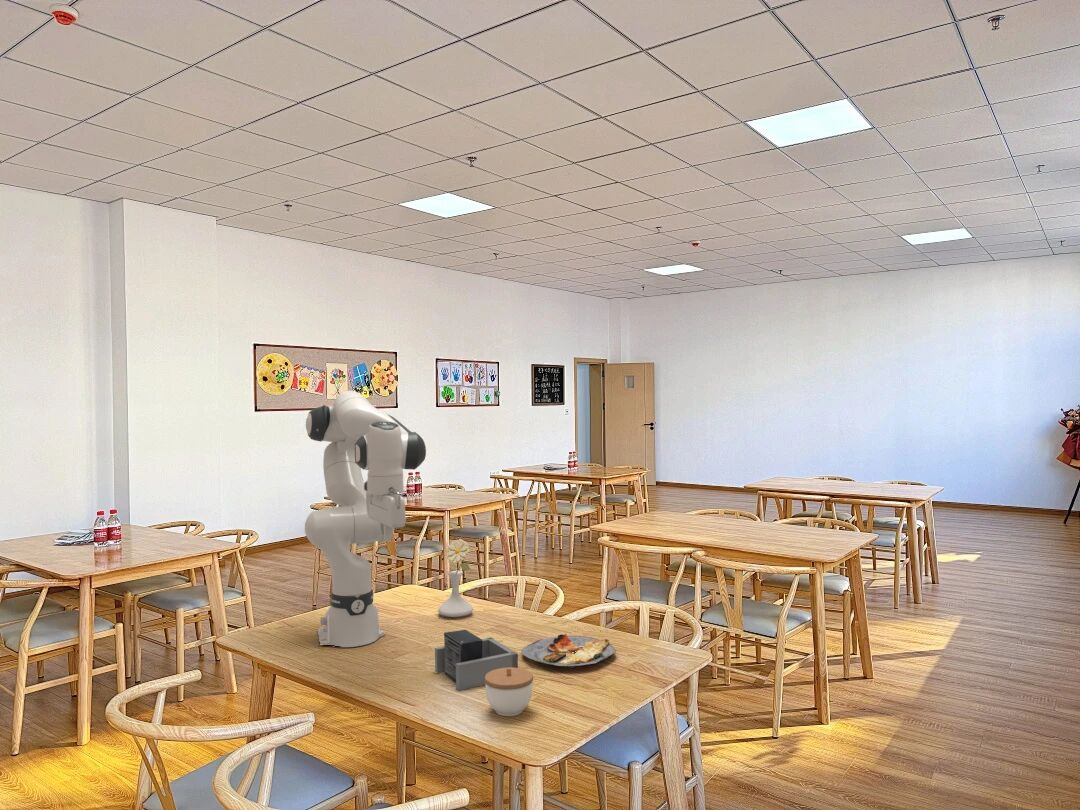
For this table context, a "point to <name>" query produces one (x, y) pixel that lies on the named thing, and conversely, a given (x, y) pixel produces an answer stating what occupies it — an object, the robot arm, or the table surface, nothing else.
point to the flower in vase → (456, 582)
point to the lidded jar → (509, 690)
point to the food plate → (569, 650)
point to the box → (479, 663)
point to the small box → (460, 650)
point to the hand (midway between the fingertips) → (386, 540)
